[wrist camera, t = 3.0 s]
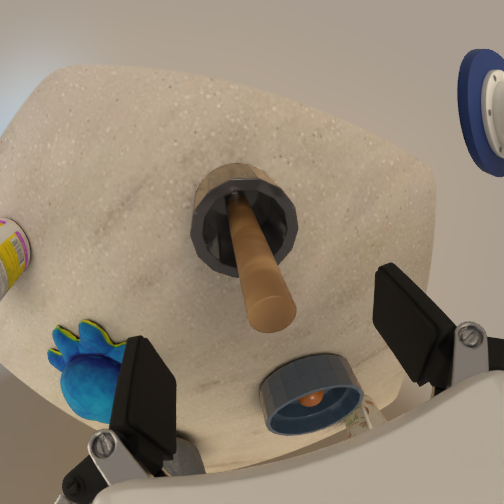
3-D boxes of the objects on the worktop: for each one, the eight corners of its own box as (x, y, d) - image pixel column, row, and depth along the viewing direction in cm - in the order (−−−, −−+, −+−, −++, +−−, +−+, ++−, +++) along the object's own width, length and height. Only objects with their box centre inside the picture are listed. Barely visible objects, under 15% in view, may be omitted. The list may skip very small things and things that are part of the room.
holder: (268, 153, 22) (287, 165, 17) (284, 230, 25) (304, 262, 20) (184, 175, 22) (176, 195, 16) (208, 251, 25) (210, 289, 20)
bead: (318, 372, 36) (326, 393, 32) (319, 385, 38) (327, 406, 34) (291, 380, 36) (298, 402, 32) (294, 393, 38) (301, 414, 34)
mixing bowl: (350, 338, 34) (368, 370, 29) (347, 389, 41) (359, 415, 36) (249, 369, 34) (256, 406, 29) (268, 413, 41) (275, 442, 36)
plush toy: (119, 305, 27) (100, 364, 19) (184, 391, 35) (185, 441, 27) (30, 332, 27) (8, 376, 19) (98, 403, 35) (90, 444, 27)
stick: (246, 191, 23) (293, 290, 10) (251, 213, 24) (299, 325, 11) (222, 198, 23) (242, 304, 10) (228, 219, 24) (254, 338, 11)
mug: (340, 418, 47) (355, 456, 39) (328, 397, 41) (347, 444, 33) (375, 401, 47) (394, 437, 38) (371, 376, 41) (395, 420, 32)
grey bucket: (123, 407, 36) (114, 487, 23) (222, 425, 41) (232, 500, 28) (119, 441, 42) (115, 500, 29) (197, 455, 48) (202, 511, 35)
